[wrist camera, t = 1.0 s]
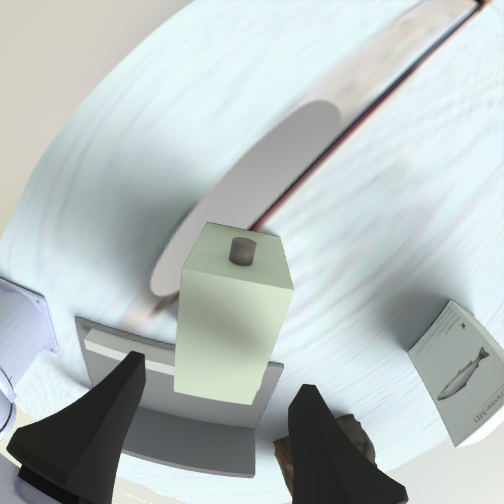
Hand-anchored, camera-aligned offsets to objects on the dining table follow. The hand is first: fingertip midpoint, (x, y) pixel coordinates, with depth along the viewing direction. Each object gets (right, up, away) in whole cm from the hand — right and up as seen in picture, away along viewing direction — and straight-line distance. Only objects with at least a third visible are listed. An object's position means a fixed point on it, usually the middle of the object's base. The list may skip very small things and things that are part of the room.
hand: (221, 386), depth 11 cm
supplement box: (+22, -3, +12) cm, 25 cm away
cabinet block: (0, +3, +9) cm, 10 cm away
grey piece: (-7, -8, +14) cm, 17 cm away
